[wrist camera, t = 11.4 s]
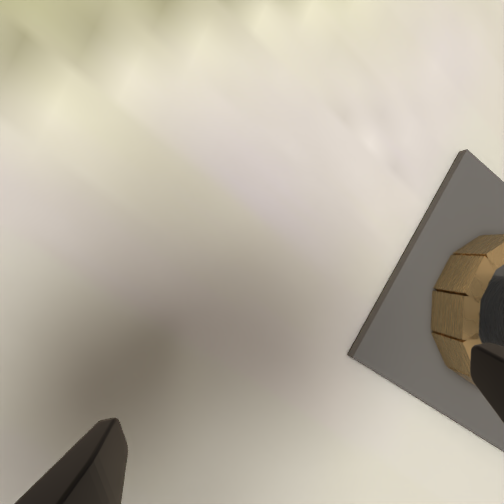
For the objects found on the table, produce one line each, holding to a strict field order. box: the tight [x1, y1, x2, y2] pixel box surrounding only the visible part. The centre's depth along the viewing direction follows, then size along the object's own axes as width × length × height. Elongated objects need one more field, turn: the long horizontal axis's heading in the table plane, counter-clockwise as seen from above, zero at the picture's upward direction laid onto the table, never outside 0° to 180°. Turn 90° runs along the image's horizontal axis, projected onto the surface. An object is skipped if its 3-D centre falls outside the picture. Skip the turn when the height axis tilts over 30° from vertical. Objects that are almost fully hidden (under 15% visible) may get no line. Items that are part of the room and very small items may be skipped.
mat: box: [348, 150, 504, 451], centre depth 25 cm, size 16×16×1 cm
